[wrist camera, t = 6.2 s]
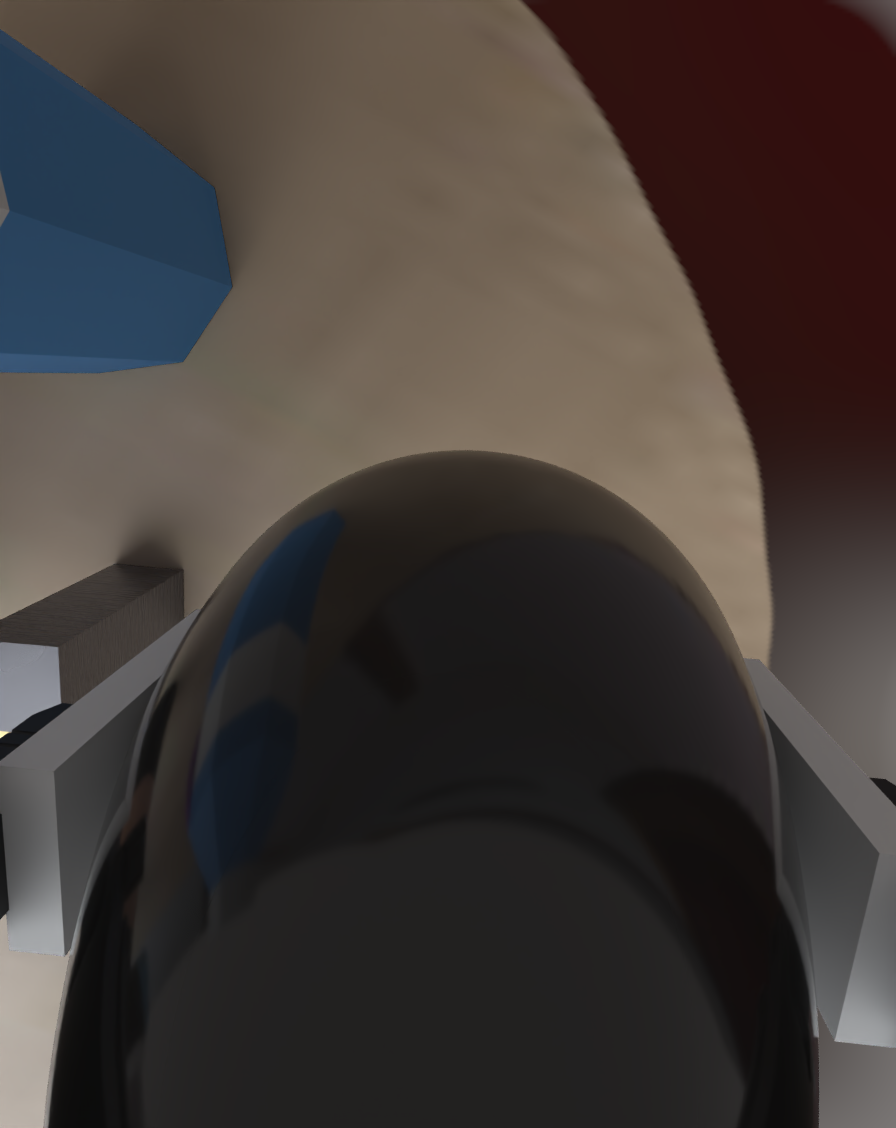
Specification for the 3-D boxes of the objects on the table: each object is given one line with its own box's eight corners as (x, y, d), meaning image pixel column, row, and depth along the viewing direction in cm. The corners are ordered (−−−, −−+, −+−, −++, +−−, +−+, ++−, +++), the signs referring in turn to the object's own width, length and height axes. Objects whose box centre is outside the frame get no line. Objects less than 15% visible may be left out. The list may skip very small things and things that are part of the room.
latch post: (107, 680, 34) (-39, 794, 25) (103, 563, 33) (-54, 637, 23) (184, 687, 34) (66, 805, 24) (183, 569, 32) (57, 647, 23)
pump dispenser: (468, 908, 20) (397, 2349, 5) (178, 637, 19) (-962, 1577, 4) (779, 663, 18) (2030, 1932, 3) (477, 337, 17) (343, 44, 2)
